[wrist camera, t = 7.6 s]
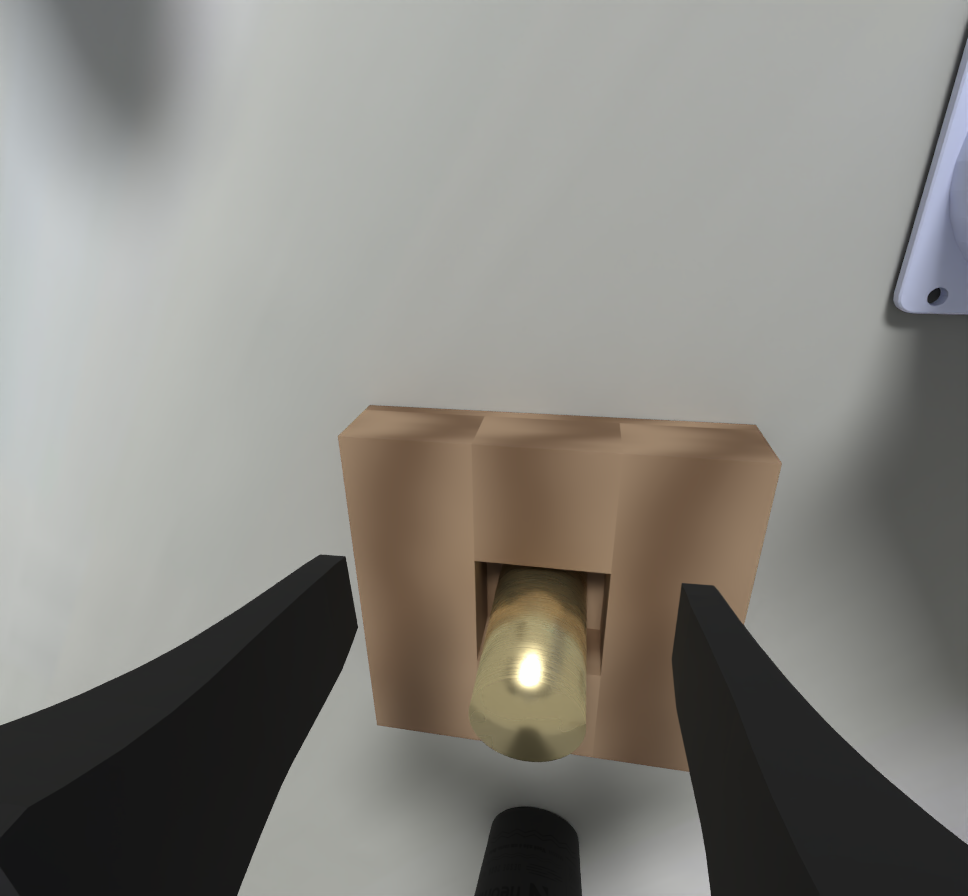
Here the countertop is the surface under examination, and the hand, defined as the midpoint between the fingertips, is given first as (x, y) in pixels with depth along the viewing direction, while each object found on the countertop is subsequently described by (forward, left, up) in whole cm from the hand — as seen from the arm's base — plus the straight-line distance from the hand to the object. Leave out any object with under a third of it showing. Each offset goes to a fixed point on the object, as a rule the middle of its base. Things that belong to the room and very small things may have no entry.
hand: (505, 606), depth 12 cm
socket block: (0, +6, -10) cm, 12 cm away
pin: (0, +6, -9) cm, 11 cm away
